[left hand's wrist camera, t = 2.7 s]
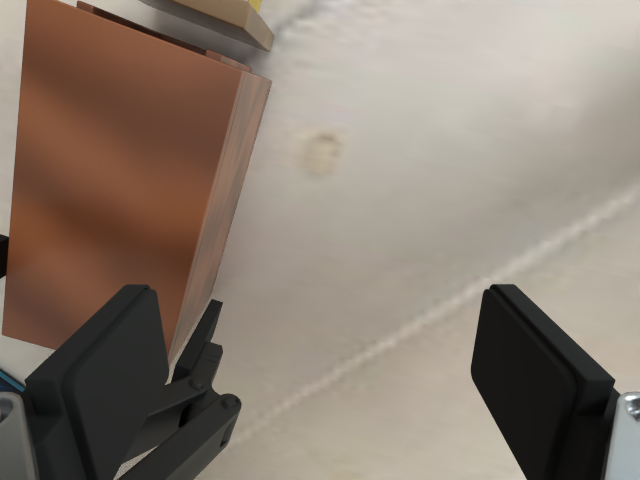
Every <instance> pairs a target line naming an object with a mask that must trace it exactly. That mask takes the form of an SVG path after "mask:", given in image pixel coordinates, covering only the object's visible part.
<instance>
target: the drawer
mask: <svg viewBox="0 0 640 480" xmlns="http://www.w3.org/2000/svg"><path fill="white" fill-rule="evenodd" d="M139 1H141V2H143V3H145V4H146V5H148V6H151V7H153V8H156V9H159V10H161V11H164V12H166V13H169V14H172V15H174V16H177V17H179V18H182V19H185V20H187V21H190V22H192V23H195V24H198V25H200V26H203V27H205V28H208V29H211V30H213V31H216V32H218V33H221V34H224V35H226V36H229V37H231V38H234V39H237V40H239V41H242V42H244V43H247V44H250V45H252V46H255V47H257V48H260V49H262V50H265V51H268V52H270V50H271V46H272V43H273V39H274V34H273V33H272V32H271V30H270V29H269V28H268V26H267V25H266V24H265V22H264V21H263V20H262V18H261V17H260V16H259V14H258V12H259V8H260V4H261V0H248V2H246V1H244V0H139ZM76 8H79V9H81V10H84V11H87V12H89V13H92V14H95V15H97V16H100V17H103V18H105V19H108V20H111V21H113V22H116V23H119V24H121V25H124V26H127V27H129V28H132V29H135V30H137V31H140V32H142V33H145V34H148V35H150V36H153V37H156V38H158V39H161V40H164V41H166V42H169V43H172V44H174V45H177V46H180V47H182V48H185V49H188V50H190V51H193V52H196V53H198V54H201V55H204V56H206V57H209V58H212V59H214V60H217V61H220V62H222V63H225V64H227V65H230V66H233V67H236V68H238V69H241V70H244V71H246V72H249V73H251V71H252V68H251V67H248V66H246V65H244V64H242V63H239V62H237V61H235V60H233V59H230V58H228V57H226V56H224V55H221V54H219V53H216V52H214V51H211V50H208V49H207V50H203V49H200V48H198V47H195V46H193V45H190V44H187V43H185V42H182V41H179V40H177V39H174V38H171V37H169V36H166V35H163V34H161V33H158V32H156V31H153V30H151V29H149V28H146V27H144V26H141V25H139V24H136V23H134V22H131V21H129V20H126V19H124V18H122V17H119V16H117V15H114V14H112V13H109V12H107V11H104V10H102V9H100V8H97V7H95V6H92V5H89V4H87V3H84V2H82V1H77V7H76Z"/></svg>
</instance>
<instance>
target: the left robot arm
mask: <svg viewBox="0 0 640 480" xmlns="http://www.w3.org/2000/svg"><path fill="white" fill-rule="evenodd" d="M168 376H169V364H168V357H167V351H166V345H165V339H164V333H163V327H162V321H161V315H160V309H159V303H158V297H157V292H156V290H154V289H151V288H150V286H149V285H147V284H126V285H125V286H123V287H122V288H121V289H120V290H119V291H118V292H117V293H116V294H115V295H114V296H113V297H112V298H111V299H110V300H109V301H108V302H106V303H105V304H104V305H103V306H102V307H101V308H100V309H99V310H98V311H97V312H96V313H95V314H94V315H93V316H92V317H91V318H90V319H89V320H87V321H86V322H85V323H84V324H83V325H82V326H81V327H80V328H79V329H78V330H77V331H76V332H75V333H74V334H73V335H72V336H71V337H70V338H68V339H67V340H66V341H65V342H64V343H63V344H62V345H61V346H60V347H59V348H58V349H57V350H56V351H55V352H54V353H53V354H52V355H51V356H49V357H48V358H47V359H46V360H45V361H44V362H43V363H42V364H41V365H40V366H39V367H38V368H37V369H36V370H35V371H34V372H33V373H32V374H30V375H29V376H28V377H27V378H26V379H25V383H26V386H27V388H26V389H25V390H24V391H23V392H22V393H21V394H20V395H18V394H16V393H13V392H0V480H113V479H114V477H115V475H116V473H117V471H118V470H119V468H120V466H121V464H122V462H123V460H124V459H125V457H126V455H127V453H128V451H129V449H130V448H131V446H132V444H133V442H134V440H135V438H136V437H137V435H138V433H139V431H140V429H141V427H142V426H143V424H144V422H145V420H146V418H147V416H148V415H149V413H150V411H151V409H152V407H153V405H154V404H155V402H156V400H157V398H158V396H159V394H160V393H161V391H162V389H163V387H164V385H165V383H166V382H167V379H168ZM471 376H472V379H473V382H474V383H475V385H476V387H477V389H478V391H479V393H480V394H481V396H482V398H483V400H484V402H485V404H486V405H487V407H488V409H489V411H490V413H491V415H492V416H493V418H494V420H495V422H496V424H497V426H498V427H499V429H500V431H501V433H502V435H503V437H504V438H505V440H506V442H507V444H508V446H509V448H510V449H511V451H512V453H513V455H514V457H515V459H516V460H517V462H518V464H519V466H520V468H521V470H522V471H523V473H524V475H525V477H526V479H527V480H640V392H627V393H624V394H622V395H620V394H619V393H618V392H617V391H616V390H615V389H614V388H613V386H614V383H615V379H614V378H613V377H612V376H611V375H610V374H608V373H607V372H606V371H605V370H604V369H603V368H602V367H601V366H600V365H599V364H598V363H597V362H596V361H595V360H594V359H593V358H592V357H591V356H589V355H588V354H587V353H586V352H585V351H584V350H583V349H582V348H581V347H580V346H579V345H578V344H577V343H576V342H575V341H574V340H573V339H572V338H570V337H569V336H568V335H567V334H566V333H565V332H564V331H563V330H562V329H561V328H560V327H559V326H558V325H557V324H556V323H555V322H554V321H553V320H551V319H550V318H549V317H548V316H547V315H546V314H545V313H544V312H543V311H542V310H541V309H540V308H539V307H538V306H537V305H536V304H535V303H534V302H532V301H531V300H530V299H529V298H528V297H527V296H526V295H525V294H524V293H523V292H522V291H521V290H520V289H519V288H518V287H517V286H515V285H514V284H493V285H491V286H490V288H489V289H486V290H484V292H483V297H482V303H481V309H480V315H479V321H478V327H477V333H476V339H475V345H474V351H473V357H472V364H471Z"/></svg>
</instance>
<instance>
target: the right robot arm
mask: <svg viewBox="0 0 640 480" xmlns="http://www.w3.org/2000/svg"><path fill="white" fill-rule="evenodd" d="M8 246H9V237H7V236H4V235H1V234H0V278H2V277H4V276H6V272H7V259H8ZM222 304H223V302H220V301H216V300H213V299H212V300H211V302H210V303H209V305H208V307H207V309H206V311H205V312H204V314H203V316H202V318H201V320H200V322H199V323H198V325H197V327H196V329H195V331H194V332H193V334H192V336H191V338H190V340H189V342H188V343H187V345H186V347H185V349H184V351H183V352H182V354H181V356H180V358H179V360H178V362H177V363H176V366H175V369H174V373H173V377H172V381H171V383H170V384H167V385H164V387H163V389H162V391H161V393H160V394H159V396H158V398H157V400H156V402H155V404H154V405H153V407H152V409H151V411H150V413H149V415H148V416H147V418H146V420H145V422H144V424H143V426H142V427H141V429H140V431H139V433H138V435H137V437H136V438H135V440H134V442H133V444H132V446H131V448H130V449H129V451H128V453H127V455H126V457H125V459H124V460H123V462H122V464H123V463H125V462H127V461H129V460H131V459H133V458H135V457H136V456H138V455H140V454H142V453H144V452H146V451H148V450H150V449H152V448H154V447H156V446H158V445H159V446H158V447H157V448H155V449H154V450H153V451H152V452H150V453H149V454H148V455H147V456H146V457H144V458H143V459H142V460H141V461H139V462H138V463H137V464H136V465H134V466H133V467H132V468H131V469H130V470H128V471H127V472H126V473H125V474H123V475H122V476H121V477H120V478H118V479H117V480H193V479H194V478H195V477H196V476H197V475H198V474H199V473H200V472H201V471H202V470H203V469H204V468H205V467H206V466H207V465H208V464H209V463H210V462H211V461H212V460H213V459H214V458H215V457H216V456H217V455H218V454H219V453H220V452H221V451H222V450H223V449H224V448H225V447H226V446H227V444H228V442H229V440H230V437H231V434H232V431H233V429H234V426H235V423H236V420H237V417H238V415H239V412H240V409H241V401H240V399H239V398H238V397H237V396H235V395H233V394H223V395H219V394H217V393H216V392H215V391H214V390H213V388H212V386H211V385H212V382H213V380H214V377H215V375H216V372H217V369H218V366H219V363H220V360H221V357H222V354H223V350H222V346H221V345H218V344H214V343H211V342H210V341H211V339H212V337H213V334H214V331H215V327H216V324H217V321H218V317H219V314H220V311H221V307H222Z"/></svg>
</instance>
